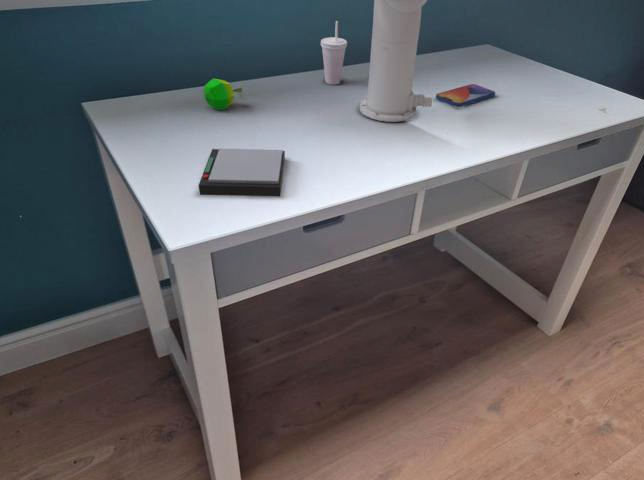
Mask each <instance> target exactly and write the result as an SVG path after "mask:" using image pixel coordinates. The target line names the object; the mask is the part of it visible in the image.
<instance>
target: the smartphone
mask: <svg viewBox="0 0 644 480" xmlns="http://www.w3.org/2000/svg"><path fill="white" fill-rule="evenodd" d="M495 95H496V91H495V90H492V89H489V88H487V87H485V86H484V87H483V86H481V85H478V84H475V83H469V84H466V85H463V86H460V87H456V88H453V89H449V90H445V91H442V92H438V93H436V94H435V99H436V100H437V101H440V102H442V103H445V104H448V105H451V106H453V107H458V108H460V107H464V106H467V105H471V104H474V103H476V102H479V101H483V100H486V99H489V98H493V97H495Z"/></svg>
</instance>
